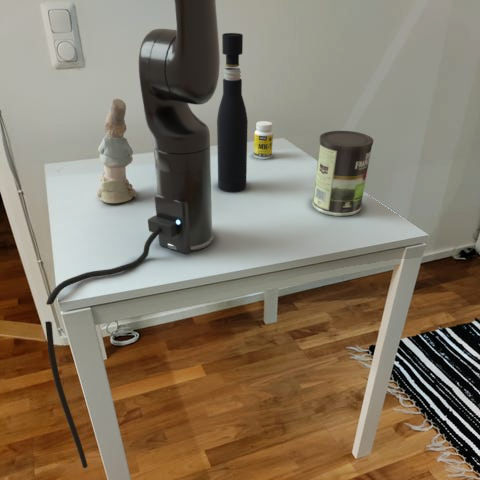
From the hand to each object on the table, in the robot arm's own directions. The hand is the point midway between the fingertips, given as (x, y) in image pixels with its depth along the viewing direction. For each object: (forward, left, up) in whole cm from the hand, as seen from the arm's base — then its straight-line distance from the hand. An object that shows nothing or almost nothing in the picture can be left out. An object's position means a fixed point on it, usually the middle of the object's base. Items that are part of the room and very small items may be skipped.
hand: (191, 5), depth 91 cm
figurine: (-19, +8, -34) cm, 40 cm away
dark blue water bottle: (-1, -10, -34) cm, 36 cm away
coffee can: (+2, -34, -34) cm, 48 cm away
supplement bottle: (+21, -6, -34) cm, 41 cm away
